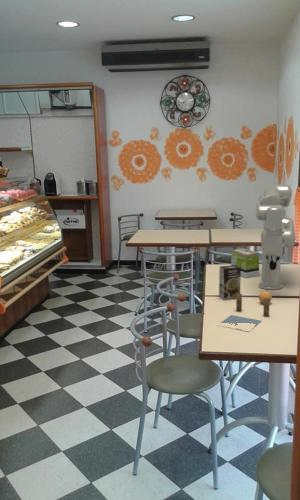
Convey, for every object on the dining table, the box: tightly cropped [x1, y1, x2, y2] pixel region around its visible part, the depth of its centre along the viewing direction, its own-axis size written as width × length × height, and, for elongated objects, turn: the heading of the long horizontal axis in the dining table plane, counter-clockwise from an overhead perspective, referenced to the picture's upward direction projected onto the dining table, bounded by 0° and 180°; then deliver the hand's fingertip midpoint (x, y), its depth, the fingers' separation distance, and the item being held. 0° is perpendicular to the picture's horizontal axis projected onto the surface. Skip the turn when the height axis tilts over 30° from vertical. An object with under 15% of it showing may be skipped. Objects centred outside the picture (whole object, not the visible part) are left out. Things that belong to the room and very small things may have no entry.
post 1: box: [235, 293, 243, 313], centre depth 194 cm, size 2×2×8 cm
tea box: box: [230, 248, 260, 279], centre depth 255 cm, size 15×10×15 cm
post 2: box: [262, 298, 270, 318], centre depth 187 cm, size 2×2×8 cm
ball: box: [258, 290, 273, 304], centre depth 204 cm, size 6×6×6 cm
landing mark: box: [220, 314, 262, 330], centre depth 180 cm, size 14×14×1 cm
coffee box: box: [218, 265, 242, 301], centre depth 213 cm, size 9×6×16 cm
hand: (272, 269), depth 208 cm, fingers closed
